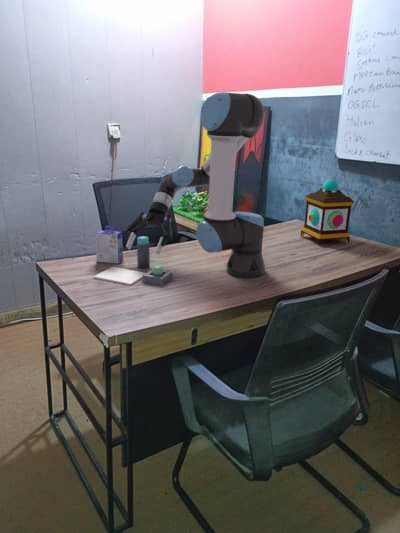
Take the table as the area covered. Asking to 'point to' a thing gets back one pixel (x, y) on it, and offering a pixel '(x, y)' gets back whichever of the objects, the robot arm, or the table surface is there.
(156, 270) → the button
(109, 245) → the ink cartridge box
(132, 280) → the paper pad
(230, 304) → the table surface
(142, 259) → the ball
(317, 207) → the decorative lantern
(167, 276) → the button housing
